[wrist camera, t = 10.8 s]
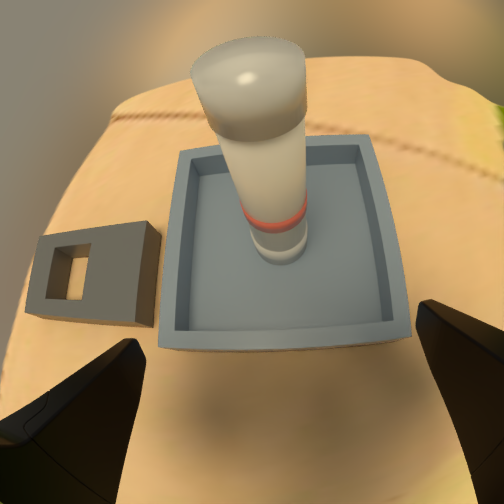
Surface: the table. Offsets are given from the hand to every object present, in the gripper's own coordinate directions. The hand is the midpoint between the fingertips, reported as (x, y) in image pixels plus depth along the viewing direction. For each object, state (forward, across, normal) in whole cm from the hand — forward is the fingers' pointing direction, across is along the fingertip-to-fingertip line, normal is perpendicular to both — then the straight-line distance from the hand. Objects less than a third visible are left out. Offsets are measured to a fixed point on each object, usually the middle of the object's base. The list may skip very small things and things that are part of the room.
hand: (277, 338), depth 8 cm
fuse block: (+11, +15, +2) cm, 19 cm away
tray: (+12, 0, +2) cm, 12 cm away
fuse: (+11, 0, +1) cm, 11 cm away
